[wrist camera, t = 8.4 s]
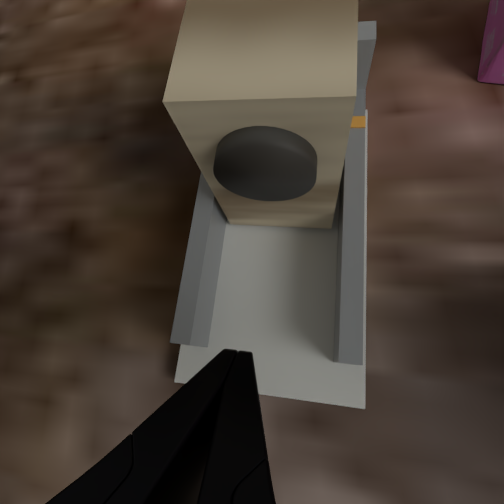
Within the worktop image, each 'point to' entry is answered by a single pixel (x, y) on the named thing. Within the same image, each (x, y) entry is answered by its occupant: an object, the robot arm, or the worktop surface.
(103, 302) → the worktop surface
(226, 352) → the robot arm
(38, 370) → the worktop surface
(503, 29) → the gum box
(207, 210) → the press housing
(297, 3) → the beige cube with disc
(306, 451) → the worktop surface
